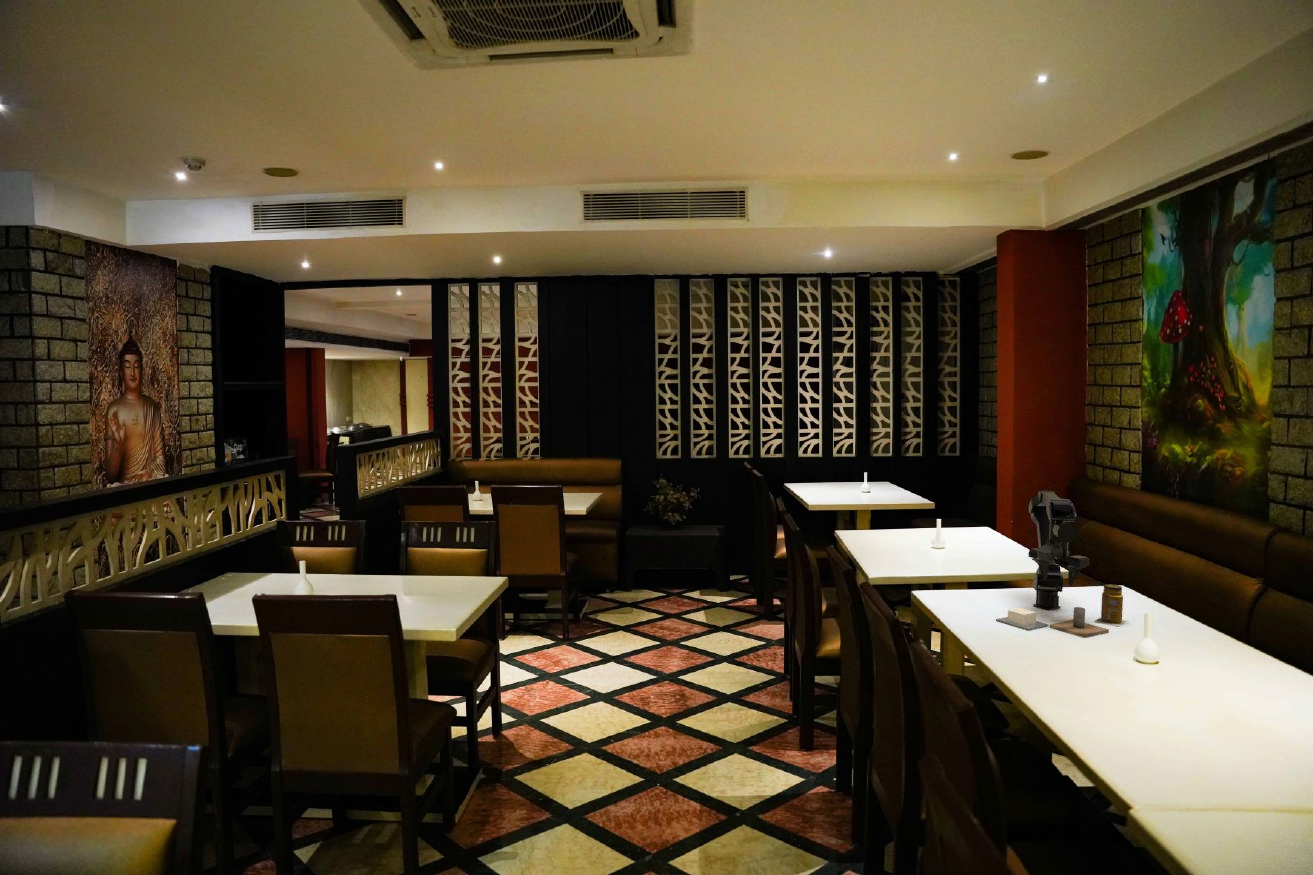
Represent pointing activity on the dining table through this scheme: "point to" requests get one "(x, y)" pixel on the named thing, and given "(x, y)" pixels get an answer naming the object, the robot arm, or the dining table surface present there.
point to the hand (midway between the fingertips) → (1057, 582)
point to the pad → (1026, 627)
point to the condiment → (1111, 605)
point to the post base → (1078, 631)
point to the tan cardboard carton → (1022, 616)
